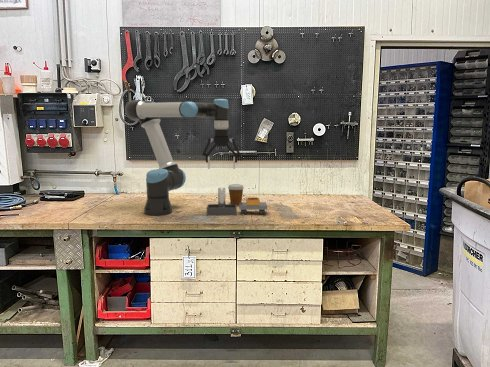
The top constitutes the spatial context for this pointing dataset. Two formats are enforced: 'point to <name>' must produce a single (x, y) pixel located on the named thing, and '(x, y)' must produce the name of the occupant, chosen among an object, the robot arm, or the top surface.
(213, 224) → the top surface
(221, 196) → the pin
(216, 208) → the pin tray
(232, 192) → the disposable coffee cup
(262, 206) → the plate with orange frame
